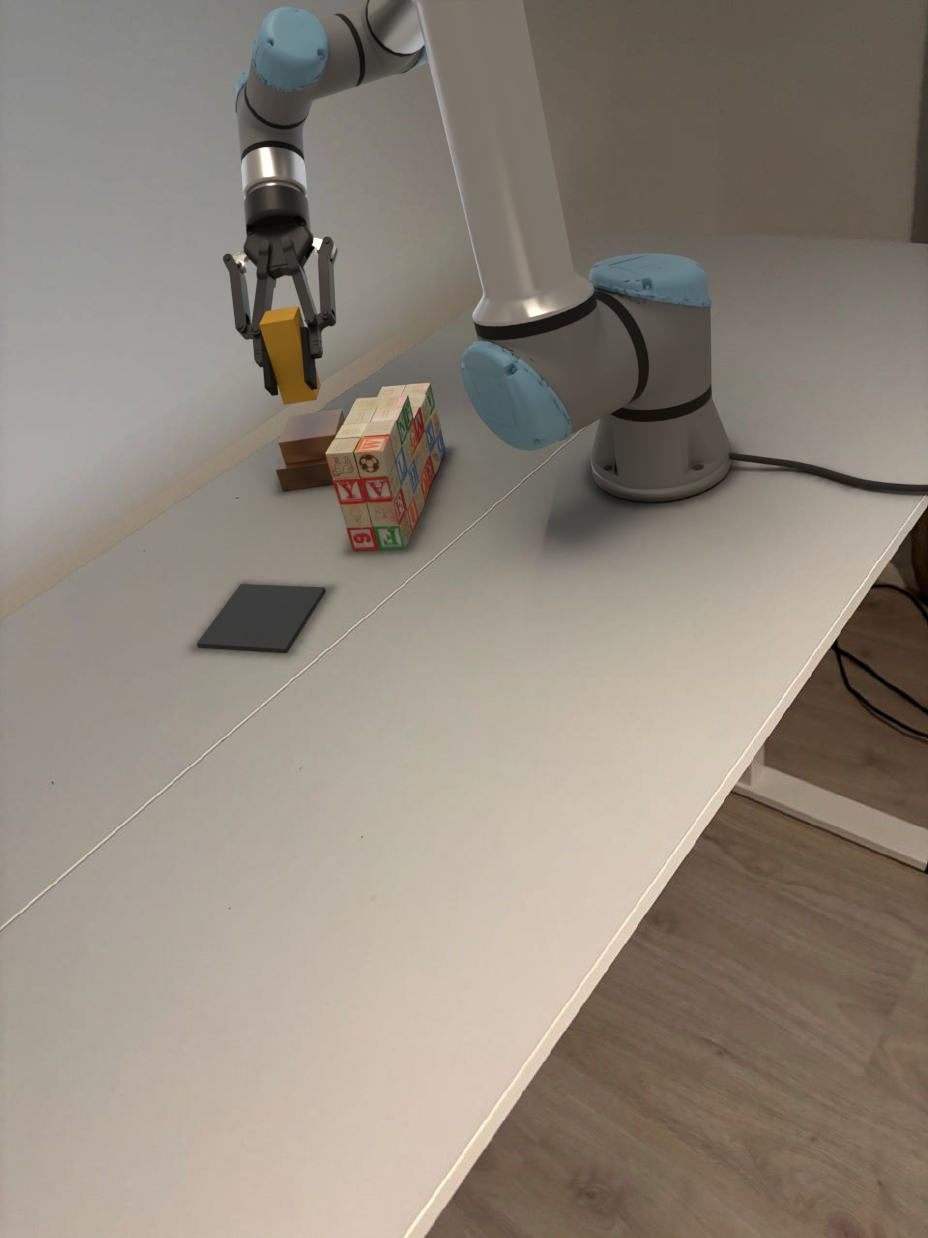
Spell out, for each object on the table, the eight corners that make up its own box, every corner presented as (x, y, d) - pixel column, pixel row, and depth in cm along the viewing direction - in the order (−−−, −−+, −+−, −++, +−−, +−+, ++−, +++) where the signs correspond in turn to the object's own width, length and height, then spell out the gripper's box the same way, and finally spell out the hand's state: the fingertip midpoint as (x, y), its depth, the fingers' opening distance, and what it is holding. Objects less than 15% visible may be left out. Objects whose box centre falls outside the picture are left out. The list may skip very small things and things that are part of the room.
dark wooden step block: (361, 445, 132) (350, 403, 128) (353, 481, 124) (342, 437, 121) (294, 455, 133) (281, 413, 129) (282, 491, 126) (268, 447, 122)
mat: (326, 590, 107) (324, 587, 106) (286, 652, 99) (285, 648, 99) (242, 587, 110) (240, 583, 110) (197, 647, 103) (196, 643, 102)
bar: (321, 385, 124) (298, 305, 118) (316, 400, 121) (293, 318, 115) (289, 390, 124) (265, 310, 118) (283, 405, 121) (258, 324, 115)
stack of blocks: (398, 453, 128) (376, 361, 121) (446, 451, 127) (427, 357, 119) (351, 551, 112) (323, 452, 104) (406, 549, 110) (381, 448, 103)
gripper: (353, 203, 124) (371, 388, 120) (219, 227, 126) (232, 409, 123) (337, 169, 116) (355, 364, 113) (194, 195, 119) (207, 388, 115)
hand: (291, 387), depth 118 cm, fingers closed on bar, 4 cm apart
